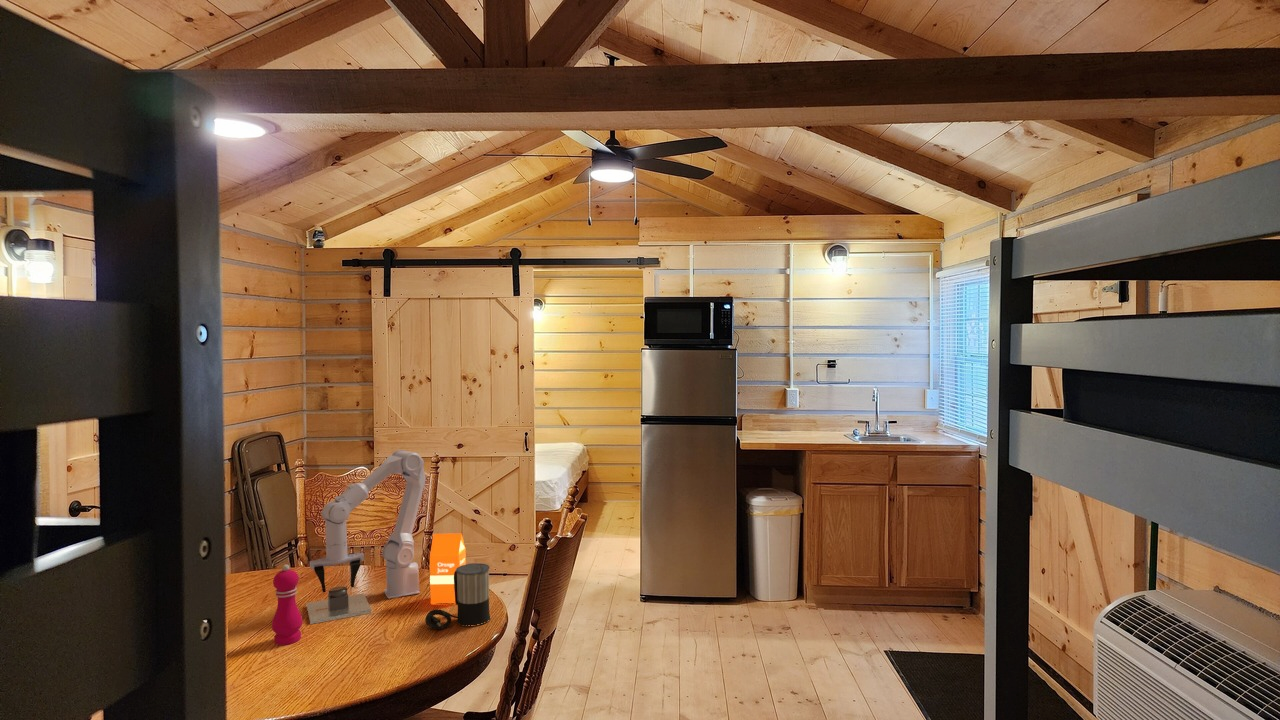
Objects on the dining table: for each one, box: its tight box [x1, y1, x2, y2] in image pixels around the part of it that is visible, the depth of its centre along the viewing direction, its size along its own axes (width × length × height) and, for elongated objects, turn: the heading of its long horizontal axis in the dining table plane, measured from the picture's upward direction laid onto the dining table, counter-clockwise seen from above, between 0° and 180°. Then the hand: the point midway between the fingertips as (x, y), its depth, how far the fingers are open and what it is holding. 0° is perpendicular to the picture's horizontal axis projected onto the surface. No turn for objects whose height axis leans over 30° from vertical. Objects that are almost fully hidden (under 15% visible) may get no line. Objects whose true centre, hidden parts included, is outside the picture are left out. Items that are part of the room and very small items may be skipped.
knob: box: [327, 586, 349, 611], centre depth 206 cm, size 5×5×5 cm
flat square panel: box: [305, 592, 372, 625], centre depth 207 cm, size 16×16×4 cm
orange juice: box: [429, 533, 467, 605], centre depth 213 cm, size 8×9×20 cm
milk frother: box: [424, 562, 491, 630], centre depth 194 cm, size 14×16×15 cm
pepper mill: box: [271, 564, 303, 646], centre depth 185 cm, size 7×7×20 cm
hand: (338, 588), depth 207 cm, fingers open, 7 cm apart
